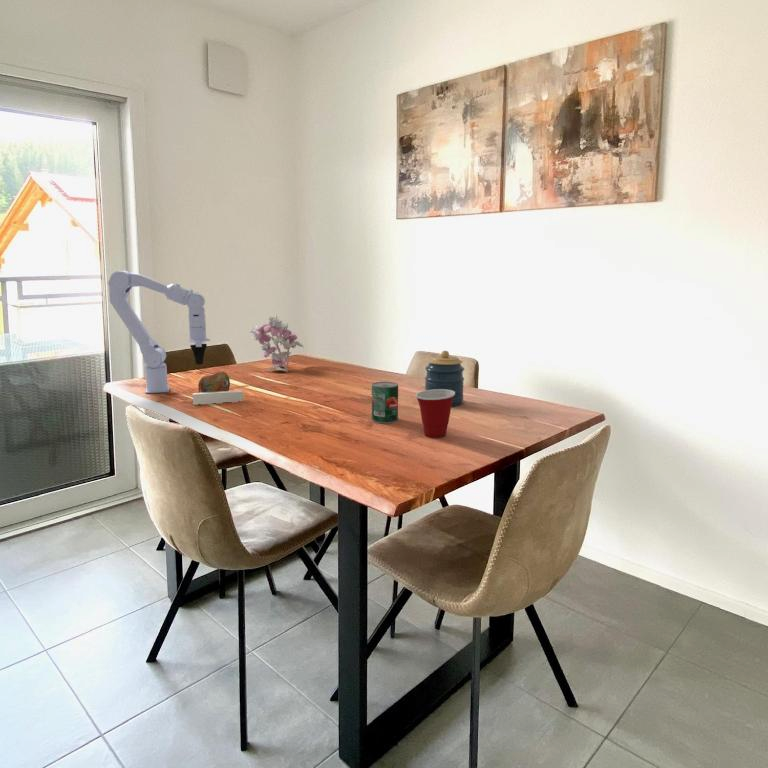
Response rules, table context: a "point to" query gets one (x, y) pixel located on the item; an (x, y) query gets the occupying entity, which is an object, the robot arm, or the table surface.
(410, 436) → the table surface
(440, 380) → the canister
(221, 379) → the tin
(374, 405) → the canned tomato
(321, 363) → the table surface
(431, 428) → the plastic cup
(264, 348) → the flower
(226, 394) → the board
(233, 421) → the table surface
